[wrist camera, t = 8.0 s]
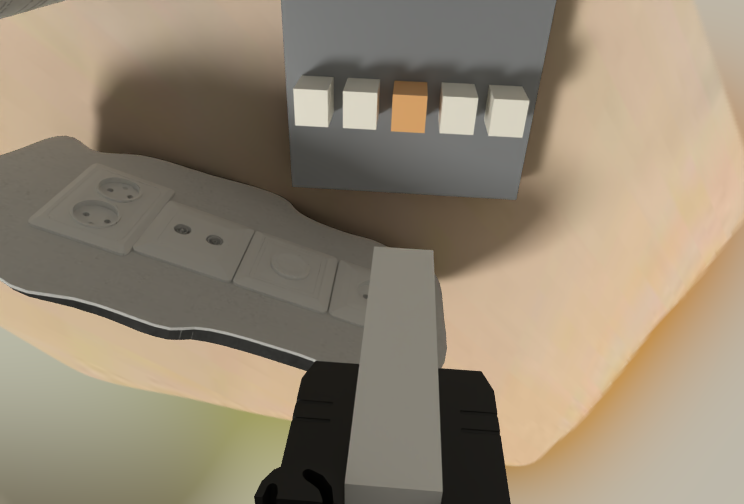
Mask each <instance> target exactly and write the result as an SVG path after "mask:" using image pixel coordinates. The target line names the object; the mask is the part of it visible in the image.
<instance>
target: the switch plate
mask: <svg viewBox="0 0 744 504" xmlns="http://www.w3.org/2000/svg"><path fill="white" fill-rule="evenodd" d="M555 4H556V0H281V9H282V25H283V42H284V58H285V74H286V91H287V107H288V124H289V140H290V157H291V173H292V187H305V188H322V189H339V190H356V191H373V192H390V193H407V194H424V195H441V196H458V197H475V198H492V199H508V200H516V198H517V193H518V188H519V183H520V178H521V174H522V169H523V164H524V159H525V154H526V149H527V144H528V139H529V134H530V129H531V124H532V119H533V114H534V109H535V104H536V99H537V94H538V89H539V84H540V79H541V74H542V69H543V64H544V59H545V54H546V49H547V44H548V39H549V34H550V29H551V24H552V19H553V14H554V9H555ZM394 81H413V82H427V90H428V99H427V110H426V122H425V133H412V132H394V131H391V119H392V99H393V89H394Z"/></svg>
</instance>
